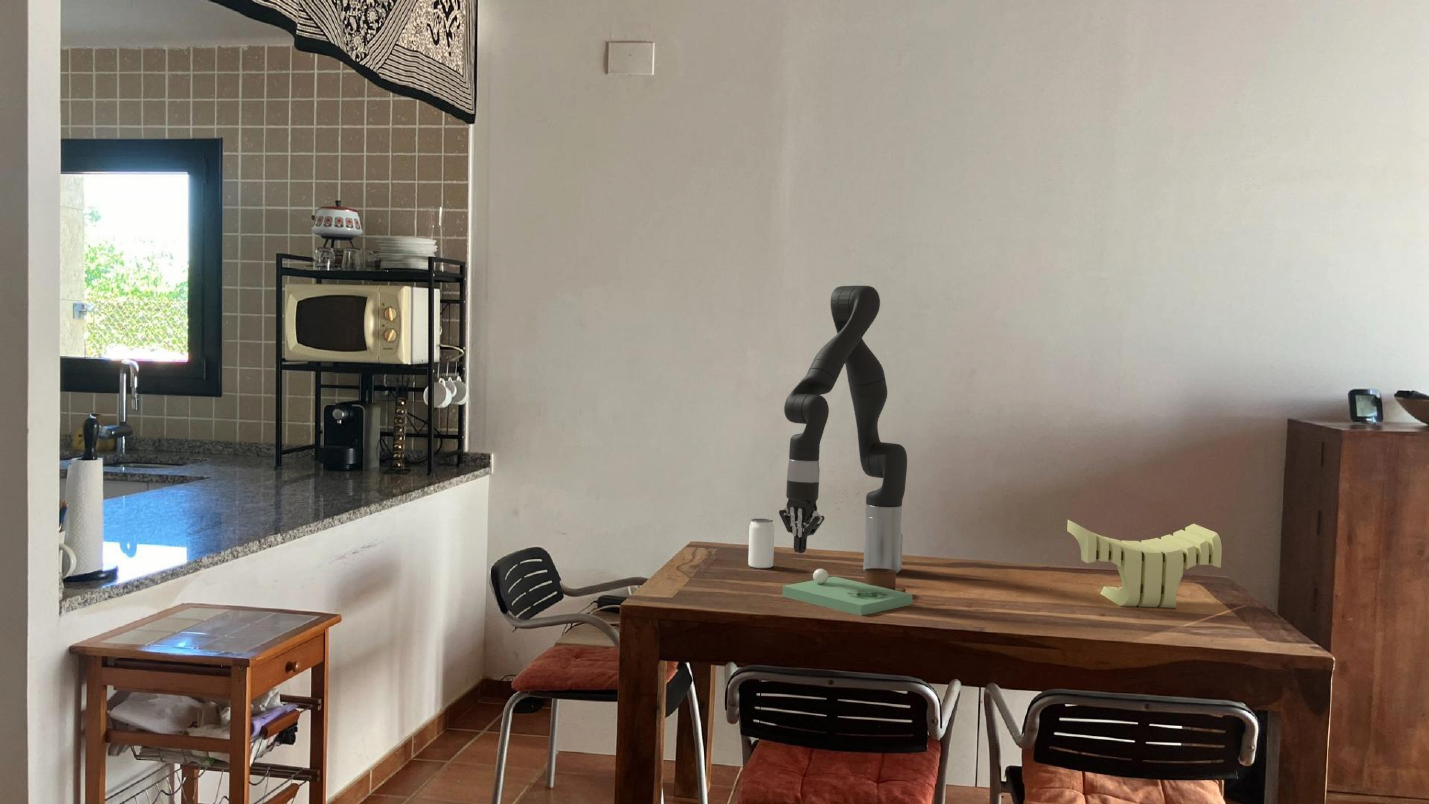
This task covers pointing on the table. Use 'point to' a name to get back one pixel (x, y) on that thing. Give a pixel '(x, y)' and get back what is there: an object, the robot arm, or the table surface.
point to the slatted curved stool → (1150, 562)
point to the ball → (820, 576)
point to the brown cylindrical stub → (882, 578)
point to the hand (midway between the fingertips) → (799, 552)
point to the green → (847, 596)
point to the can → (761, 543)
